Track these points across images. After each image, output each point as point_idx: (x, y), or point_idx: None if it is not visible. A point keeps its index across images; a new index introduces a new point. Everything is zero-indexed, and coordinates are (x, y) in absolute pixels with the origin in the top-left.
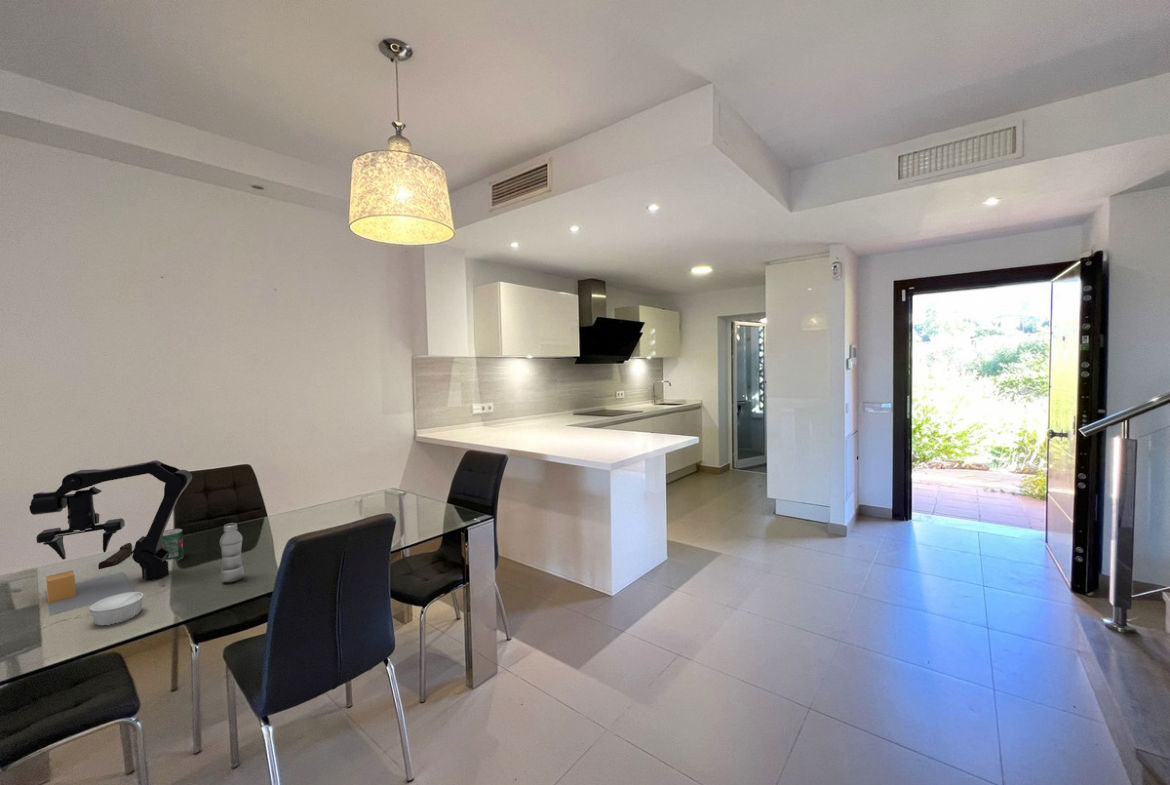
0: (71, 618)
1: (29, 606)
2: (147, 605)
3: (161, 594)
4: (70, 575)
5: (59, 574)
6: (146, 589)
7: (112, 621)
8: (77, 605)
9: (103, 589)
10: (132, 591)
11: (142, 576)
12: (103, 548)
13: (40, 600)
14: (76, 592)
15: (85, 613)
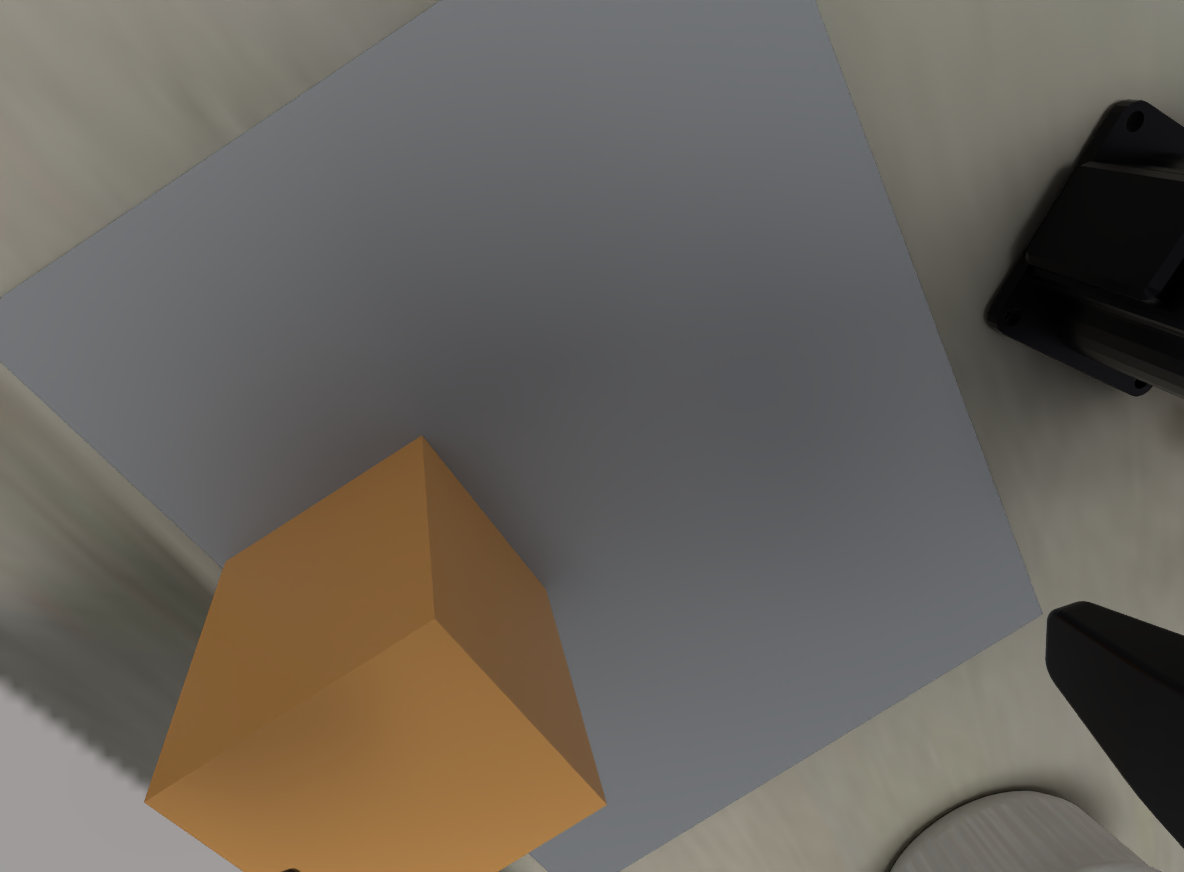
0: (698, 845)
1: (89, 577)
2: (1103, 751)
3: (1170, 603)
4: (561, 817)
5: (332, 755)
6: (1063, 468)
7: None
8: (685, 776)
9: (749, 489)
10: (1018, 608)
11: (1064, 274)
12: (1153, 794)
13: (67, 440)
14: (485, 490)
15: (756, 794)
